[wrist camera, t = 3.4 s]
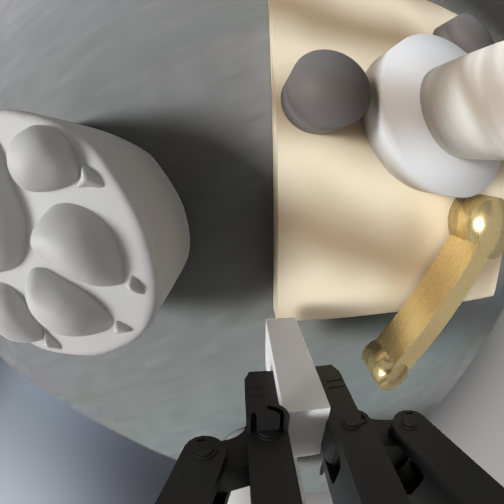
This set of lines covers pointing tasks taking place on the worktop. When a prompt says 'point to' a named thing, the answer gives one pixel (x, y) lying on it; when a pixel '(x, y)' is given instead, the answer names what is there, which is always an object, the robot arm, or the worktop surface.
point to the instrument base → (344, 181)
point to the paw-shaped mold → (83, 236)
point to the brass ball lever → (439, 289)
